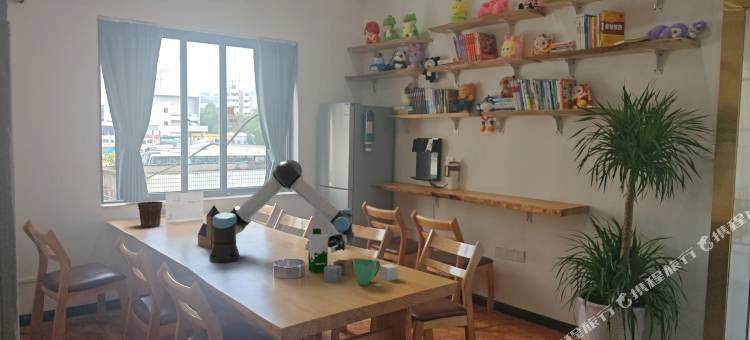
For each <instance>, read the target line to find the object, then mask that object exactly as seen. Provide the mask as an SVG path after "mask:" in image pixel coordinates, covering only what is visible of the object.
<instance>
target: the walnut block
mask: <svg viewBox="0 0 750 340" xmlns="http://www.w3.org/2000/svg"><path fill="white" fill-rule="evenodd" d="M332 265H337V266H342V277H346V276H347V275H350V274H351V260H348V259H347V260H345V259H337V260H335V261H333V264H332Z"/></svg>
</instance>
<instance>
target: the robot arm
mask: <svg viewBox="0 0 750 340" xmlns="http://www.w3.org/2000/svg"><path fill="white" fill-rule="evenodd" d="M302 174H303V167H302V166H301V164H300V163H299V162H298V161H297V160H294V159H287V160H283V161H281V162H279V163H278V164H277V166H276V167H275V169H274V171H272V172H271V177H270V178H269V179H268V180H267V181H266V182H265V183H263V185H262V186H260V187H259V188H258V189H257V190H256V191H255V192H253V194H252V195H251V196H250V197H248V198H247V200H246V201H244V202H243V203H242V204H241V205H240V206H239V205H238V206H235V207H234V208H232V209H231V210H230V211H229V212H221V213H220V214H217V215H215V216H214V217H213V246H212V249H211V250H210V252H209V255H208V256H209V257H208V260H209V261H210V262H213V263H219V264H220V263H233V262H236V261H239V260H240V257H241V256H240V252H239V249H238V246H237V234H239V233H241V232H243V231H245V229H246V227H247V226H248V225H249V224H250V223H252V218H253V217H254V216H255V215H256V214H257V213H258V212H259V211H260V210H261V209H263V208H264V207H265V206H266V205H267V204H268V203H269V202H270V201H271V200H272V199H273V198H274V197H276V196H277V195H278V194H279V193H280V192H281V191H282V190H286V189H287V190H289V191H294V192H295V193H296V194H297V195H298V196H299V197H301V198H302V199H303V200H304V201H305V202H306V203H307V204H308V205H310V206H311V208H313V209H314V210H315V211H316V212H318V213H319V214H320V215H321V216H323V218H325V219H326V220H327V221H328V222H329V223H330V224H331V225H332V226H333V227H334V229H335V230H336V231H337V233H335V234H331V235H330V236H329V237H328V248H330V254H333V253H335V252H338V251H342V252H343V251H345V250H346V246H348V245H350V244H351V243H353V242H354V240H355V237H356V234H355V232H354V231H353V209H351V208H347V207H346V208H344V207H343V208H339V209H338V208H337V207H336V206H334V205H333V203H331V202H330V201H329V200H328V199H327V198H325V197H324V196H323V195H322V194H321V193H320V192H318V191H317V190H316V189H315V188H314V187H313V186H311V184H310V183H308V182H307V181H306V180H304V179H303V178H304V177H303V175H302ZM304 246H305V248H304V249H305V251H309V240H308V241H307V243H306V244H304Z"/></svg>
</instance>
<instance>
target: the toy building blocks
mask: <svg viewBox="0 0 750 340" xmlns="http://www.w3.org/2000/svg"><path fill="white" fill-rule="evenodd" d="M217 214H221V213H220V211H219V210H218V209H217V207H216V206H215V205H212V207H211V208H210V210H209V211H208V213H207V214H206V217H205V218H206V221H205V222H206V223H204V222H203V223H202V225H201V227H200V229H199V230H198V231H199V232H198V233H197V245H198V246H200V247H201V248H204V249H207V250H209V251H211V249H212V246H213V217H214V216H215V215H217Z"/></svg>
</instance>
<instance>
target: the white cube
mask: <svg viewBox="0 0 750 340" xmlns="http://www.w3.org/2000/svg"><path fill="white" fill-rule="evenodd" d="M379 279H381V280H385V281H387V282H391V281H396V280H397V281H398V280H399V266H397V265H396V264H395V265H394V264H392V263H387V264H380V267H379Z"/></svg>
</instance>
